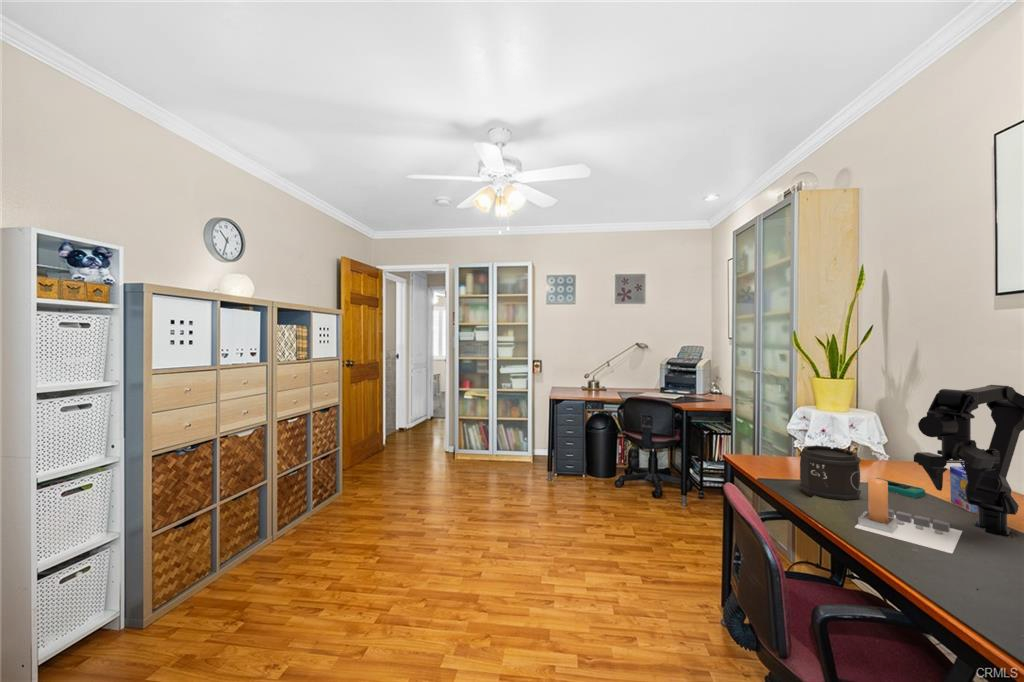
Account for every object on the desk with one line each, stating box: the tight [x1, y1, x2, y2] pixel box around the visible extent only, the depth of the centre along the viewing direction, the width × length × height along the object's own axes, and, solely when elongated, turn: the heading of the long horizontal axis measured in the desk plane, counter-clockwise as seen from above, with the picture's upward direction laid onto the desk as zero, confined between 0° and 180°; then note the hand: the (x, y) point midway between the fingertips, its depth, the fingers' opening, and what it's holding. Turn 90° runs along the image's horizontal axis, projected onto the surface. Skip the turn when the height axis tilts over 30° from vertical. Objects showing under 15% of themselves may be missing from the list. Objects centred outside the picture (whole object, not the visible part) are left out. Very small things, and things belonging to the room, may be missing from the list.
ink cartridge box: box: [949, 463, 978, 514], centre depth 142 cm, size 10×6×14 cm, turn 164°
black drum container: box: [798, 445, 862, 501], centre depth 155 cm, size 18×18×16 cm
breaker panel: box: [854, 508, 963, 554], centre depth 124 cm, size 20×20×3 cm
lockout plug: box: [867, 477, 889, 524], centre depth 127 cm, size 4×4×13 cm
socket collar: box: [857, 510, 898, 533], centre depth 127 cm, size 8×8×2 cm
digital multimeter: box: [876, 477, 926, 499], centre depth 159 cm, size 7×15×3 cm, turn 27°
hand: (955, 490), depth 122 cm, fingers open, 9 cm apart
